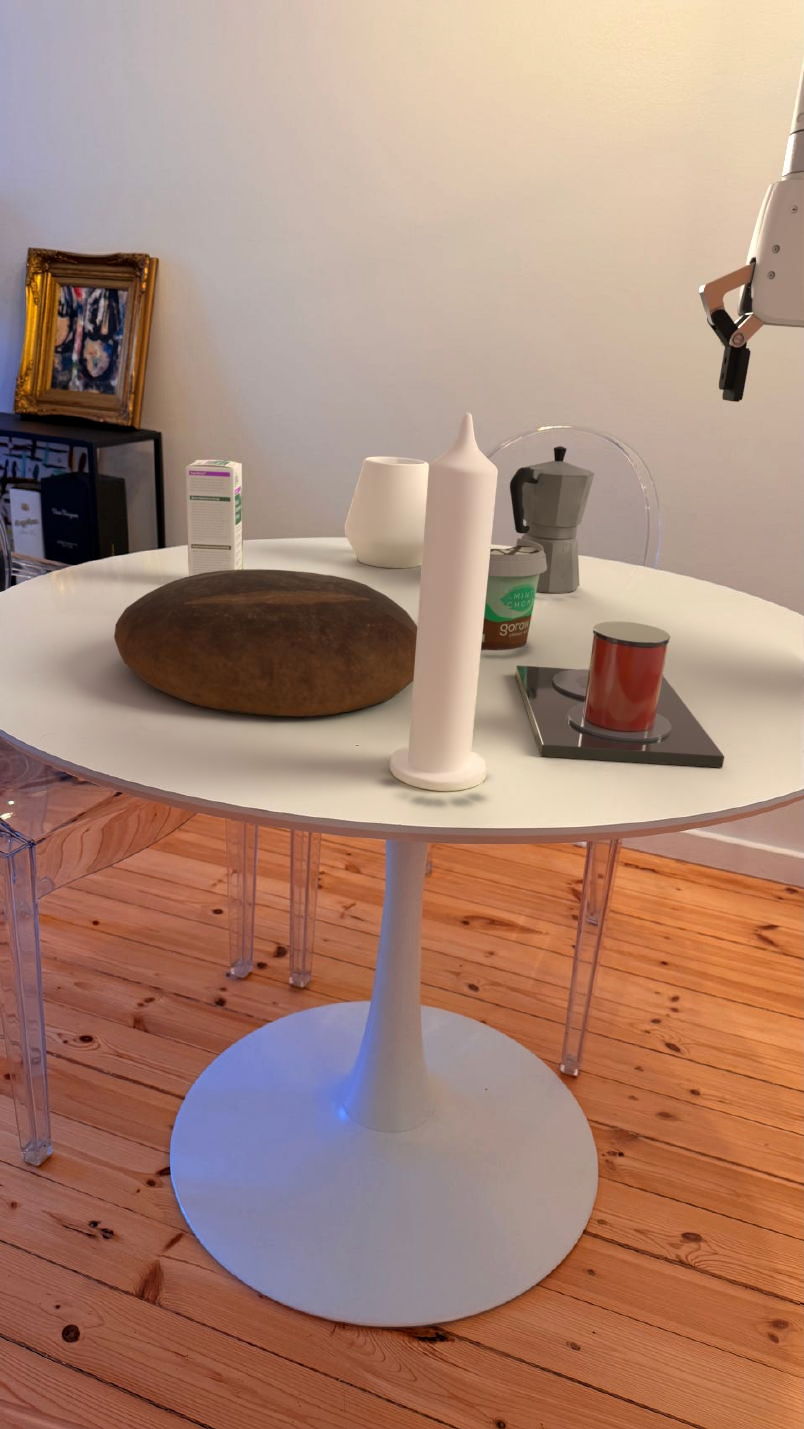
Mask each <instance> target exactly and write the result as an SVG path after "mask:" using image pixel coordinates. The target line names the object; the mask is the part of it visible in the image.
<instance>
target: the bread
mask: <svg viewBox="0 0 804 1429" xmlns="http://www.w3.org/2000/svg"><path fill="white" fill-rule="evenodd" d="M113 638H114V641H115V644H116V648H117V649H118V652H119V655H120V657H121V659H122V661H123V662H124V664H125V665H126V666H127V667H128V668H129V669H130V670H132V672H134V674H136V675H137V677H139V678H140V680H142V681H143V682H144V683H146V684H148V685H149V686H151V687H153V688H155V689H157V690H159V691H161V692H162V693H163V692H164V693H165V694H167V695H170V696H173V697H174V698H178V699H179V700H183V701H185V702H188V703H191V704H193V705H196V706H200V707H204V708H208V709H213V710H219V711H227V712H232V713H241V714H247V715H256V716H257V715H258V716H266V717H315V716H316V717H320V716H330V715H331V716H332V715H337V714H343V713H349V712H353V711H357V710H361V709H365V708H368V707H372V706H375V705H378V704H381V703H383V702H385V701H389V700H391V699H393V698H394V697H396V695H398V694H399V693H400V692H402V691H403V690H405V689H406V688H407V687H408V686H409V685H410V684H411V683H413V681H414V667H415V653H416V639H417V625H416V622H415V620H413V618H412V617H411V616H410V614H409V613H408V611H407V610H405V609H404V608H403V607H402V606H400V605H399V604H398V603H397V602H395V601H394V600H393V599H392V598H390V597H389V596H388V595H386V594H384V593H382V592H380V591H378V590H376V589H374V588H372V587H371V586H369V585H367V584H365V583H362V582H359V581H356V580H354V579H350V578H345V577H341V576H336V575H332V574H331V575H330V574H321V573H317V572H308V571H299V570H297V571H296V570H284V569H263V568H262V569H261V568H260V569H259V568H255V569H254V568H252V569H250V568H247V569H245V568H243V569H241V570H224V571H214V572H206V573H202V574H197V575H193V576H189V575H188V576H185V577H182V578H178V579H175V580H173V581H170V582H168V583H165V584H164V585H161V586H159V587H157V588H155V589H153V590H151V591H149V592H147V593H146V594H144V595H143V596H141V597H139V598H138V599H137V600H136V601H134V602H133V603H131V604H129V605H128V606H127V607H126V608H125V609H124V611H123V612H122V613H121V614H120V616H119V617H118V619H117V621H116V623H115V628H114V636H113Z"/></svg>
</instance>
